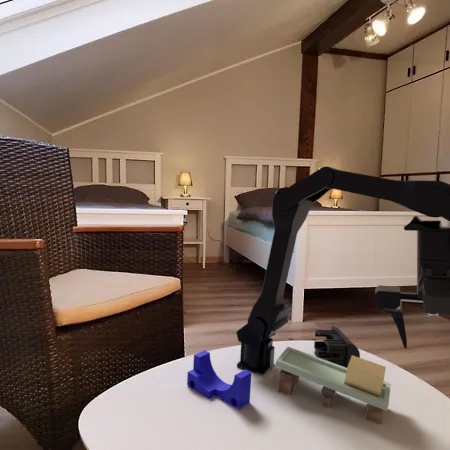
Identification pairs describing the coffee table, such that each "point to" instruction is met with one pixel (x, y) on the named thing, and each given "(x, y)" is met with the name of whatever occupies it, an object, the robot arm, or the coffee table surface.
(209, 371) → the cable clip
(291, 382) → the beam stand
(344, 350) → the end cap
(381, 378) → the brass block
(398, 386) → the coffee table surface
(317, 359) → the green rimmed tray
